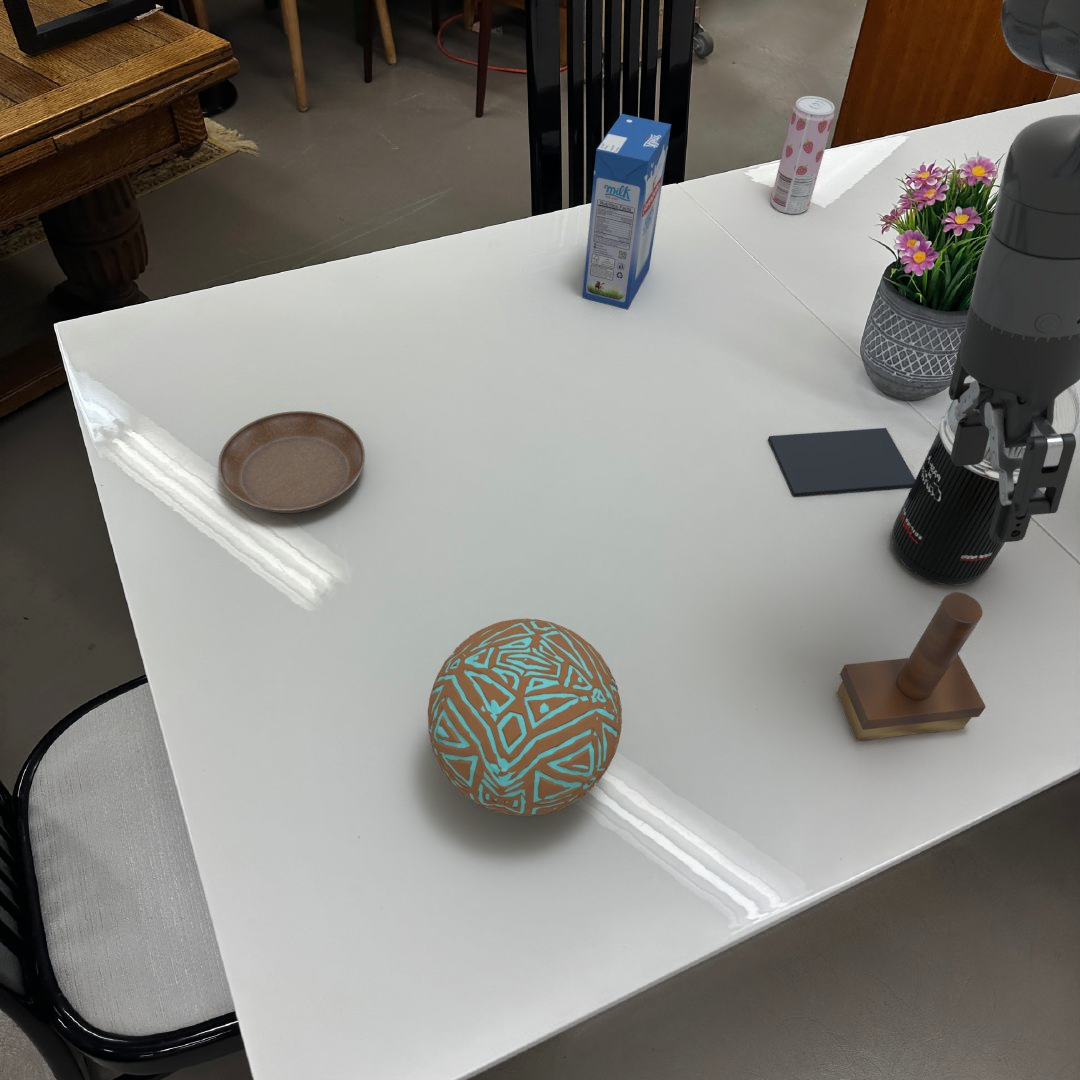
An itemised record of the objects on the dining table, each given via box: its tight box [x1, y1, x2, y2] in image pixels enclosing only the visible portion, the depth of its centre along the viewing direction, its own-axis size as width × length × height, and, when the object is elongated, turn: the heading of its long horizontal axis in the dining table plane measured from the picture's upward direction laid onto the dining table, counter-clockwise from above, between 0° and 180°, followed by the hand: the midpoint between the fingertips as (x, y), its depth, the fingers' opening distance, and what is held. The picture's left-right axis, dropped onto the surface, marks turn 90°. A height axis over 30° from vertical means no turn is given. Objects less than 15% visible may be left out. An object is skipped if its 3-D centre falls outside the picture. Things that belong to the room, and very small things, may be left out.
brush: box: [836, 591, 987, 742], centre depth 80 cm, size 11×6×15 cm, turn 99°
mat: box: [767, 427, 916, 498], centre depth 106 cm, size 14×9×1 cm, turn 99°
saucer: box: [217, 410, 366, 514], centre depth 100 cm, size 15×15×3 cm
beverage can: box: [770, 95, 836, 215], centre depth 137 cm, size 6×6×15 cm
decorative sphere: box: [427, 618, 623, 817], centre depth 75 cm, size 15×15×15 cm
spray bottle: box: [890, 376, 1080, 586], centre depth 89 cm, size 10×10×25 cm
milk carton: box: [582, 113, 672, 310], centre depth 120 cm, size 10×6×20 cm, turn 160°
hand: (984, 498), depth 70 cm, fingers open, 8 cm apart
